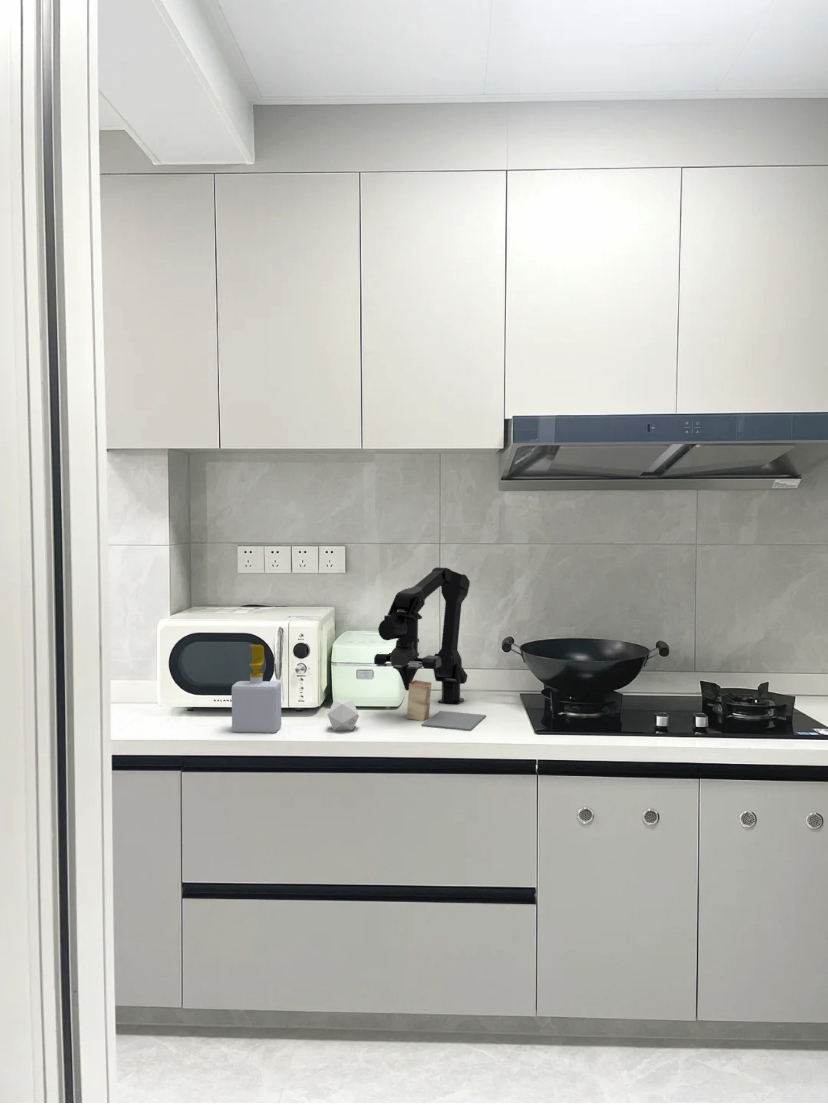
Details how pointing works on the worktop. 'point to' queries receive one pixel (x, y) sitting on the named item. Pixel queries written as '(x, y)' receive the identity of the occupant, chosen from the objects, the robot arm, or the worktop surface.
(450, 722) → the mat
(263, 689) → the soap bottle
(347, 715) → the die
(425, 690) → the pine block
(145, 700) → the worktop surface
